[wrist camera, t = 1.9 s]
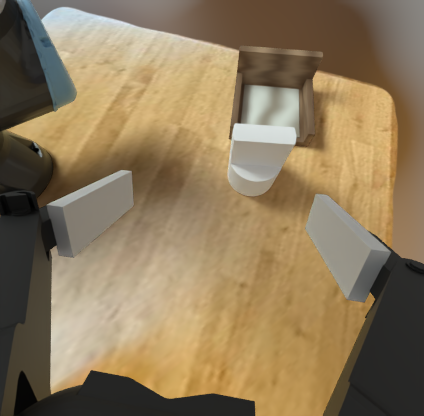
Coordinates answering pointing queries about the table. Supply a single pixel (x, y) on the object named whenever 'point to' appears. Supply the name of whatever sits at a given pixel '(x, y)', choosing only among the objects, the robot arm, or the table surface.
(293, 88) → the walnut rest
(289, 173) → the table surface
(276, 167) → the base with upright slab
